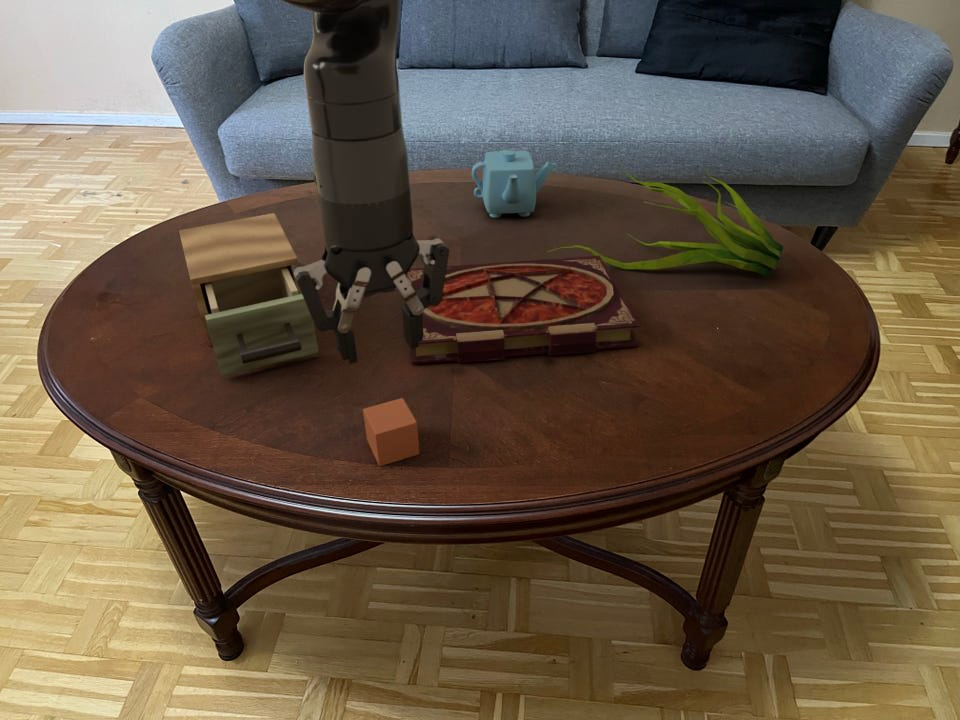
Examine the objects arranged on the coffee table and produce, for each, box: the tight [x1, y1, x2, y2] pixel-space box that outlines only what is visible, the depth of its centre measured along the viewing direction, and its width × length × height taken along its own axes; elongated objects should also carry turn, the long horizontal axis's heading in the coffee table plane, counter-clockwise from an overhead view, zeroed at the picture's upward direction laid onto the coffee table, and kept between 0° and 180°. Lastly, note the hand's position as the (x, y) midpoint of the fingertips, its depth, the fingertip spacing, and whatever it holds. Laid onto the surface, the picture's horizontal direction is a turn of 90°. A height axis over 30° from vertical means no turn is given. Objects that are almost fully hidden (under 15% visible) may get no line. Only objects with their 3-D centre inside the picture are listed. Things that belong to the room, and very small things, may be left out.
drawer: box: [204, 266, 319, 377], centre depth 87 cm, size 19×12×8 cm, turn 24°
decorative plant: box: [546, 159, 784, 277], centre depth 102 cm, size 18×30×15 cm, turn 53°
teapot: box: [471, 149, 556, 219], centre depth 121 cm, size 18×14×10 cm
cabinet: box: [178, 212, 302, 347], centre depth 96 cm, size 15×13×10 cm
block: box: [362, 397, 421, 467], centre depth 74 cm, size 4×4×4 cm
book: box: [406, 255, 641, 365], centre depth 95 cm, size 28×21×5 cm
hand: (382, 350), depth 68 cm, fingers open, 5 cm apart
